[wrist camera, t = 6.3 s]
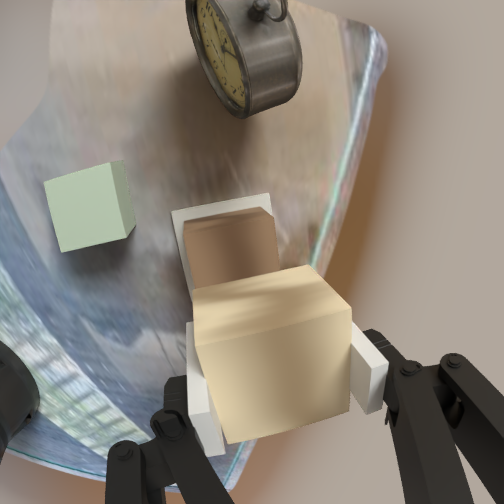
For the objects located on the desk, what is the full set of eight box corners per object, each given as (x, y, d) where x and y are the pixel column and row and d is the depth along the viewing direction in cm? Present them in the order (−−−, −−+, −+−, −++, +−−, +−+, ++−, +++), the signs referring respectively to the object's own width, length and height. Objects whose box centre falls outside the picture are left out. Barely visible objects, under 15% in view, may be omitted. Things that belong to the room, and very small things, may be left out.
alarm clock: (182, 27, 23) (180, -78, 8) (236, 9, 24) (281, -95, 8) (227, 128, 27) (271, 100, 12) (281, 107, 27) (375, 69, 12)
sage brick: (79, 236, 28) (61, 252, 23) (65, 176, 26) (43, 181, 21) (136, 223, 28) (126, 237, 24) (123, 160, 26) (109, 162, 22)
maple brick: (217, 379, 18) (228, 444, 13) (192, 289, 16) (194, 346, 11) (315, 356, 18) (349, 411, 14) (308, 264, 16) (351, 307, 12)
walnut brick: (199, 290, 31) (201, 315, 26) (184, 220, 28) (183, 234, 24) (269, 276, 32) (283, 298, 27) (260, 206, 29) (273, 217, 25)
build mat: (191, 299, 32) (191, 301, 31) (171, 211, 29) (171, 212, 28) (279, 280, 33) (280, 283, 32) (267, 192, 30) (269, 193, 29)
